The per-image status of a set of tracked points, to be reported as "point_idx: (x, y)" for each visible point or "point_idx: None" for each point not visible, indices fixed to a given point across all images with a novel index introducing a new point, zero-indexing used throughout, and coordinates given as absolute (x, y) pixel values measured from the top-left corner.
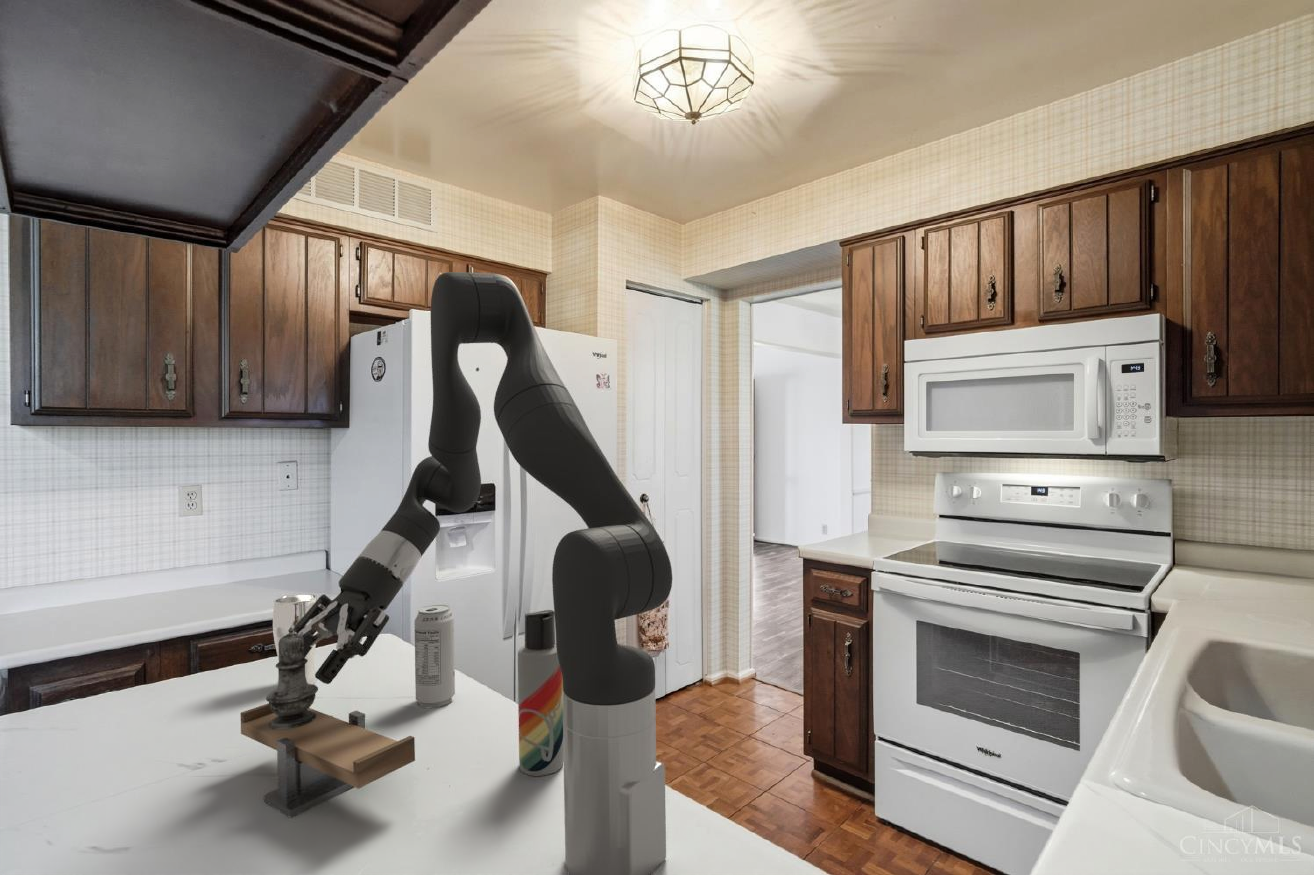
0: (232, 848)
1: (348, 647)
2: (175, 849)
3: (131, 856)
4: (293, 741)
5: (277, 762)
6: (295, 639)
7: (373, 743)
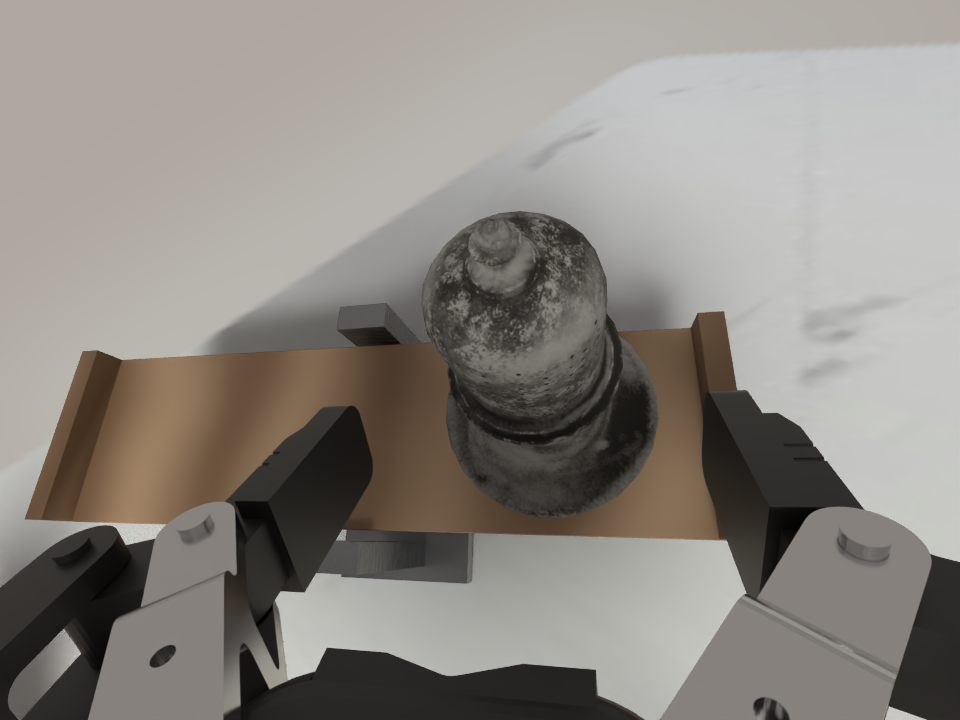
0: (379, 265)
1: (147, 553)
2: (460, 211)
3: (502, 166)
4: (339, 327)
5: (409, 329)
6: (426, 282)
7: (174, 475)
